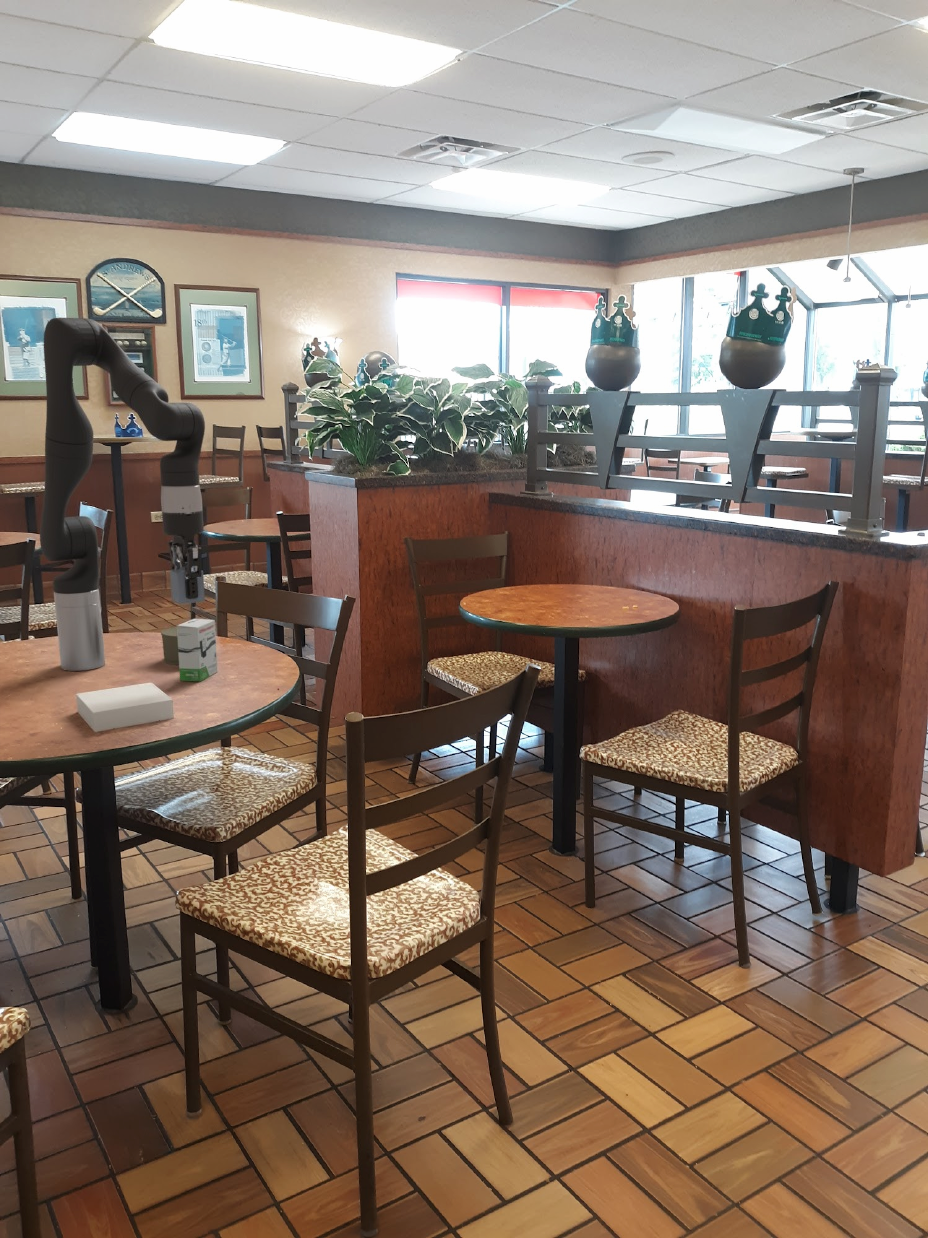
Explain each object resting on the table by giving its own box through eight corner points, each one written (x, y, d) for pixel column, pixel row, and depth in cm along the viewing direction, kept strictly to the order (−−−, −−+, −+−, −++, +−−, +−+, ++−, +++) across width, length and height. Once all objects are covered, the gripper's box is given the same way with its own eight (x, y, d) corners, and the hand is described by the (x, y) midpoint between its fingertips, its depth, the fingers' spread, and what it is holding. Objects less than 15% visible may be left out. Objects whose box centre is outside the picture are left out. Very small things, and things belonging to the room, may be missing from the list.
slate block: (171, 600, 190) (169, 569, 188) (196, 597, 192) (195, 567, 191) (179, 604, 186) (177, 573, 184) (204, 601, 188) (202, 571, 187)
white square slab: (78, 714, 182) (76, 693, 181) (152, 702, 190) (151, 682, 189) (95, 734, 171) (93, 712, 170) (174, 720, 178) (172, 699, 177)
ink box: (200, 682, 202) (196, 626, 199) (178, 681, 203) (174, 626, 200) (219, 671, 210) (215, 618, 207) (198, 670, 211) (194, 617, 208)
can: (161, 667, 214) (158, 637, 212) (165, 654, 225) (162, 626, 224) (217, 664, 216) (215, 634, 215) (218, 651, 228) (216, 623, 226)
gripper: (152, 507, 189) (158, 592, 193) (173, 513, 177) (179, 604, 181) (190, 504, 193) (195, 588, 197) (213, 511, 181) (218, 600, 185)
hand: (187, 595), depth 189 cm, fingers closed on slate block, 5 cm apart
